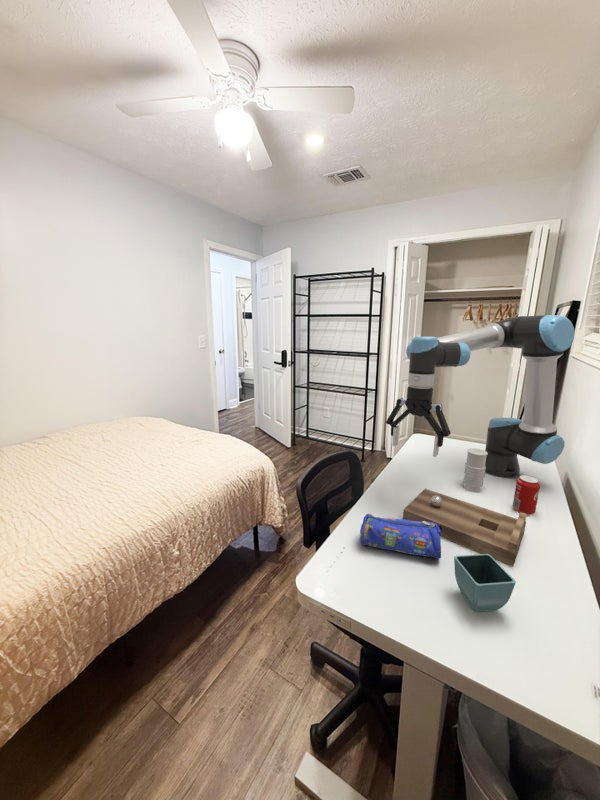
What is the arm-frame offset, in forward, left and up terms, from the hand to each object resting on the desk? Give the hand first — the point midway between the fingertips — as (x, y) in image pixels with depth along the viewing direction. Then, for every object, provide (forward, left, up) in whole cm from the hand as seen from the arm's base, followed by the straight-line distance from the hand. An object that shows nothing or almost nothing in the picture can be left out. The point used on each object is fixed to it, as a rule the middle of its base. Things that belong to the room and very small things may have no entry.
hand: (414, 450), depth 104 cm
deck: (0, +17, -21) cm, 27 cm away
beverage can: (-23, +30, -21) cm, 43 cm away
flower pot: (+27, +28, -21) cm, 44 cm away
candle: (-29, +13, -21) cm, 38 cm away
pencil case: (+22, +7, -21) cm, 31 cm away
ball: (0, +9, -15) cm, 17 cm away
